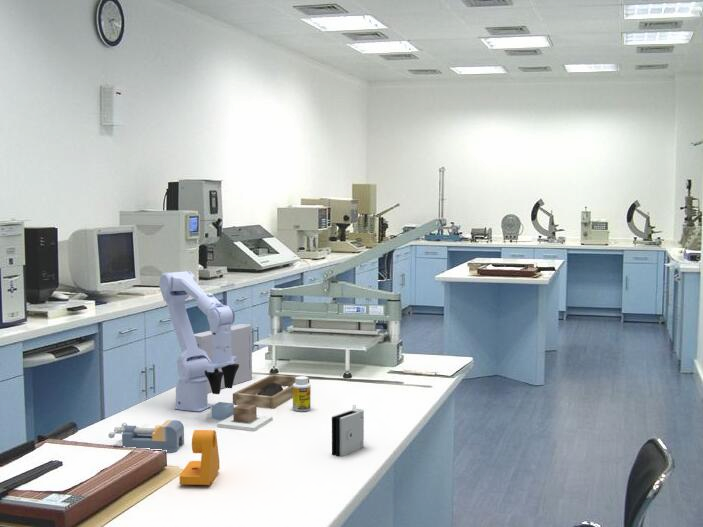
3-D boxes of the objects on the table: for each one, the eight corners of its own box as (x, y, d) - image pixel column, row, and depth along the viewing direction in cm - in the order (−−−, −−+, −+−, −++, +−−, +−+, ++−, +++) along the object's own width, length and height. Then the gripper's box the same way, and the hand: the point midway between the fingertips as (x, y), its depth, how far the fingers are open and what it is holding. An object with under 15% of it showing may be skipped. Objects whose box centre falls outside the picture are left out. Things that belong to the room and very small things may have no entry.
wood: (273, 405, 258) (273, 396, 258) (251, 404, 259) (251, 395, 259) (290, 388, 280) (290, 380, 280) (269, 387, 281) (269, 379, 281)
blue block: (211, 419, 242) (211, 406, 242) (219, 414, 247) (219, 401, 247) (226, 420, 241) (226, 407, 240) (234, 416, 245) (233, 403, 245)
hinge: (353, 440, 222) (353, 404, 221) (370, 443, 219) (371, 407, 218) (329, 455, 209) (329, 417, 208) (347, 458, 207) (347, 420, 206)
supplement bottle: (298, 413, 248) (298, 380, 247) (289, 408, 253) (289, 376, 252) (313, 410, 251) (313, 378, 250) (305, 406, 256) (304, 374, 255)
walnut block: (233, 421, 236) (233, 407, 235) (241, 416, 240) (241, 403, 240) (248, 422, 234) (248, 409, 234) (256, 418, 239) (256, 405, 238)
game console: (254, 379, 292) (253, 325, 290) (202, 395, 269) (201, 336, 268) (242, 377, 295) (241, 323, 294) (189, 393, 273) (188, 335, 271)
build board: (217, 426, 234) (217, 423, 234) (237, 415, 245) (237, 412, 245) (254, 431, 229) (253, 427, 229) (272, 419, 241) (272, 416, 241)
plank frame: (232, 404, 258) (232, 393, 258) (272, 384, 285) (271, 374, 284) (273, 408, 253) (273, 397, 253) (309, 387, 280) (309, 377, 279)
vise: (186, 442, 220) (186, 418, 220) (174, 454, 210) (173, 429, 209) (123, 439, 222) (122, 416, 222) (108, 452, 212) (107, 427, 211)
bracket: (190, 471, 197) (189, 423, 196) (219, 471, 197) (218, 424, 196) (178, 487, 186) (177, 437, 185) (209, 488, 186) (208, 437, 185)
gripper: (221, 351, 234) (222, 397, 235) (245, 343, 247) (245, 386, 248) (200, 350, 236) (201, 395, 237) (224, 341, 250) (225, 384, 251)
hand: (222, 390), depth 243 cm, fingers open, 7 cm apart
